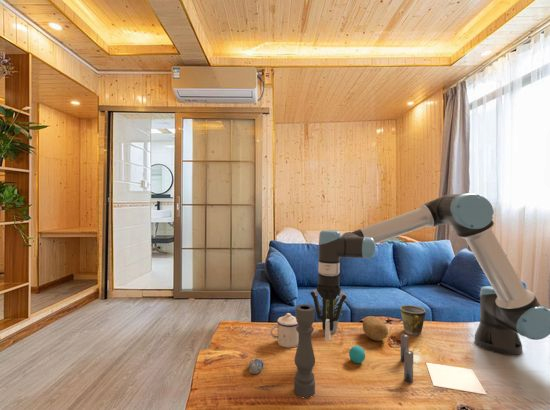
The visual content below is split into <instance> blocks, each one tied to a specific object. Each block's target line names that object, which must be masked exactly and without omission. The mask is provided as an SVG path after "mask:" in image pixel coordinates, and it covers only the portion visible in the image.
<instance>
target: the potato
mask: <svg viewBox="0 0 550 410" xmlns="http://www.w3.org/2000/svg"><path fill="white" fill-rule="evenodd" d="M362 330H363V332H364V334H365V335H366V337H368V338H370V339H371V340H374V341H375V342H376V341H377V342H378V341H379V342H381V341H382V340H384V339H387V336H388V335H389V329H388V326H387V324H386V323H385V322H384V321H383V320H382V319H380V318H378V317H376V316H373V315H372V316H370V315H368V316H366V317H365V318H364V319H363V320H362Z"/></svg>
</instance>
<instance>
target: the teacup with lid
mask: <svg viewBox="0 0 550 410" xmlns="http://www.w3.org/2000/svg"><path fill="white" fill-rule="evenodd" d="M276 323H277V325H273V326H271V327H270V330H269V333H270V336H271V337H272V338H273V339H277V344H278V345H279V346H280V347H283V348H288V349H289V348H290V349H291V348H295V347H297V346H298V337H299V333H298V332H297V330H296V327H297V326H298V323H297V321H296V316H294V315H292V314H291V313H289V312H287V313H285V315H284V316H280V317H278V318H277V321H276ZM274 329H277V335H274V334H273V330H274Z"/></svg>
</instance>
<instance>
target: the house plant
mask: <svg viewBox="0 0 550 410" xmlns="http://www.w3.org/2000/svg"><path fill="white" fill-rule="evenodd" d="M318 299H320V301H319V303H320V302H321V304H322V305H323V302H322V297H321V296H319V297H318ZM339 301H340V298H339V296H337V297H336V298H335V299H334V316H336V312H337V309H338V305H339ZM345 301H347V299H345V300H344V301H343V304H342V305H345V304H348V302H345ZM320 309H321V310H322V309H323V306H320ZM345 309H346V307H342V308H341V311H342V312H343V311H345ZM341 311H340V315H341V316H343V313H342V312H341ZM326 319H329V320H330V300H327V318H326ZM339 319H340V318H339ZM339 319H338V321H334V326H333V331H330V334H336V333H337V332H338V331H337V330H338V325H339Z"/></svg>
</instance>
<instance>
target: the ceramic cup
mask: <svg viewBox="0 0 550 410" xmlns="http://www.w3.org/2000/svg"><path fill="white" fill-rule="evenodd" d="M400 315H401V320H402V321H401V322H402V325H403V331H404V330H405V331H404V332H405V334H408V333H409V334H408V335H411V336H419V335H422V333H423V331H422V330H423V327H424V322H425V317H426V309H425V308H423V307H421V306H418V305H417V306H416V305H410V304H409V305H408V304H407V305H401V306H400Z"/></svg>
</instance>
